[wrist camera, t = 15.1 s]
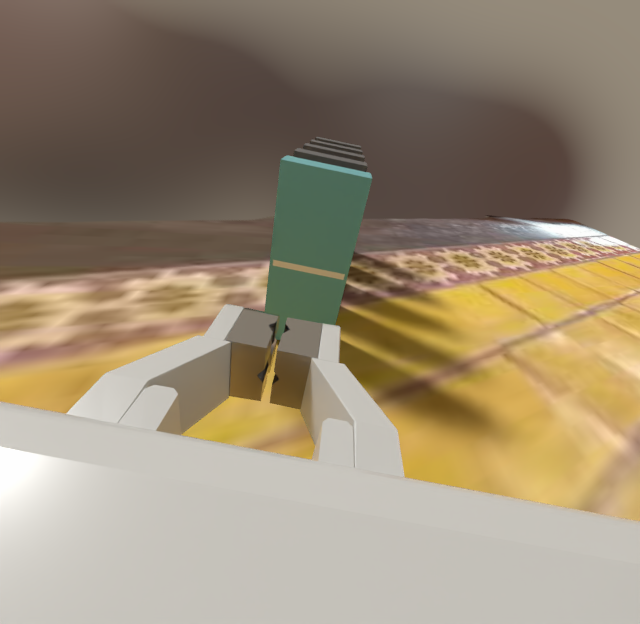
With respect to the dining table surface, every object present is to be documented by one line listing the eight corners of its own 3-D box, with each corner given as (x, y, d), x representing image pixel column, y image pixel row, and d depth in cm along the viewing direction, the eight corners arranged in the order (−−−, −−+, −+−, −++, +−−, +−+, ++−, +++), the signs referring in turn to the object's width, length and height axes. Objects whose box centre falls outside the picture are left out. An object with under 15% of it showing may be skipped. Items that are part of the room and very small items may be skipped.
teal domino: (268, 321, 25) (287, 155, 19) (330, 334, 25) (370, 173, 19) (261, 336, 23) (280, 159, 17) (328, 350, 23) (372, 178, 17)
